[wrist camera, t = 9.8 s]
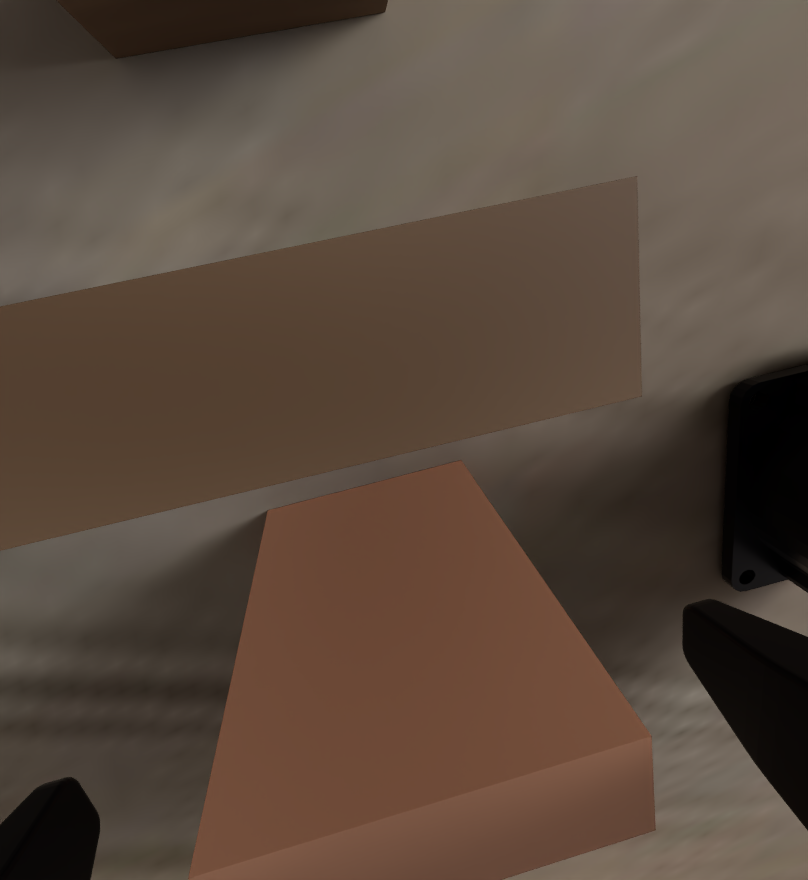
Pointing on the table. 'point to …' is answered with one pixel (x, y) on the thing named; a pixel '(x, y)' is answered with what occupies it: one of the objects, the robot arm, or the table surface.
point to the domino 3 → (413, 702)
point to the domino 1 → (201, 20)
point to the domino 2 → (314, 358)
